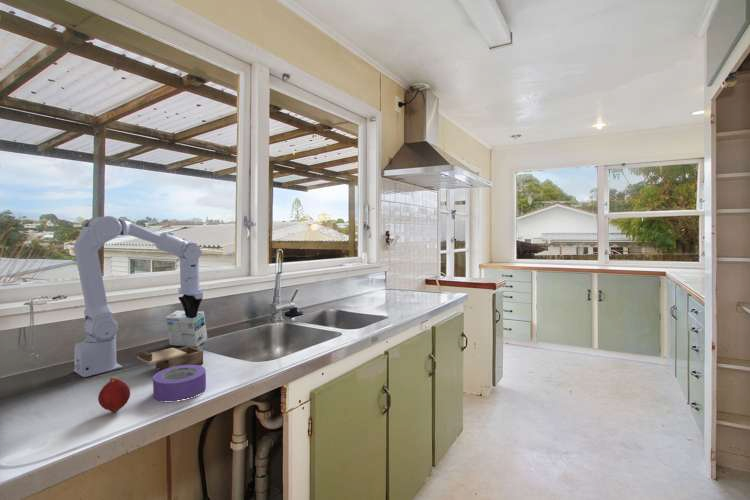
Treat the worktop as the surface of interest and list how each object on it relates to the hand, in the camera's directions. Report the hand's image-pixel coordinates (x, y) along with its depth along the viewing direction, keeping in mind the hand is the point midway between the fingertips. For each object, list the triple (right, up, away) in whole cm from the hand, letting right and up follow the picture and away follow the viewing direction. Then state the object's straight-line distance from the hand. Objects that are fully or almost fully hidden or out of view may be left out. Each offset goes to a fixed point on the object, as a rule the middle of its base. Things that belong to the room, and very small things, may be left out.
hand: (191, 317), depth 129 cm
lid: (+2, -8, -21) cm, 22 cm away
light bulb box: (-3, -10, +5) cm, 12 cm away
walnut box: (+5, -12, -16) cm, 21 cm away
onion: (+5, -13, -45) cm, 47 cm away
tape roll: (+14, -13, -34) cm, 39 cm away
